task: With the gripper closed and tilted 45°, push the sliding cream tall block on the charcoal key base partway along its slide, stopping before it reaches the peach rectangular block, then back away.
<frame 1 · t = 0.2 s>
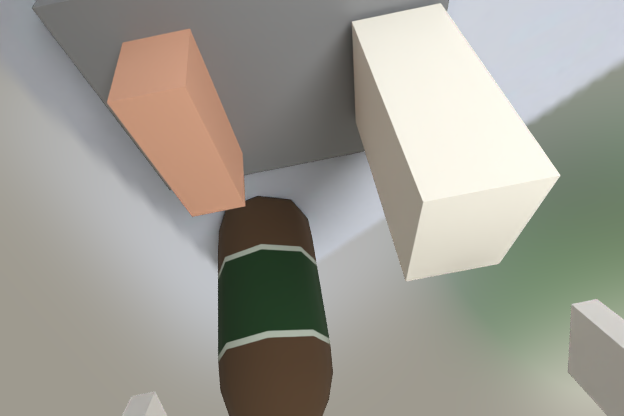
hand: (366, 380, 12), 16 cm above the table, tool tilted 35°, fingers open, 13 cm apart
beer bottle: (263, 218, 32), on the table
peach rectangular block: (193, 89, 20), resting on key base
key base: (274, 72, 20), on the table
cream tall block: (423, 139, 16), point 7 cm above the table, slide at 0.0 cm
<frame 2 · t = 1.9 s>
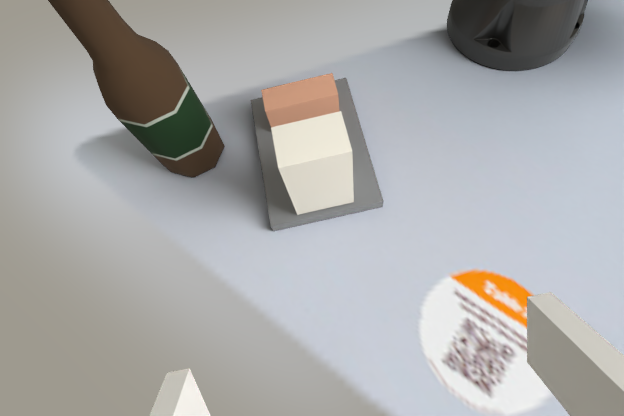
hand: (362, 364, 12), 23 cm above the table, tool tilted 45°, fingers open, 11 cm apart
beer bottle: (196, 152, 45), on the table
peach rectangular block: (305, 122, 45), resting on key base
key base: (312, 153, 43), on the table
cream tall block: (316, 168, 34), point 7 cm above the table, slide at 0.0 cm
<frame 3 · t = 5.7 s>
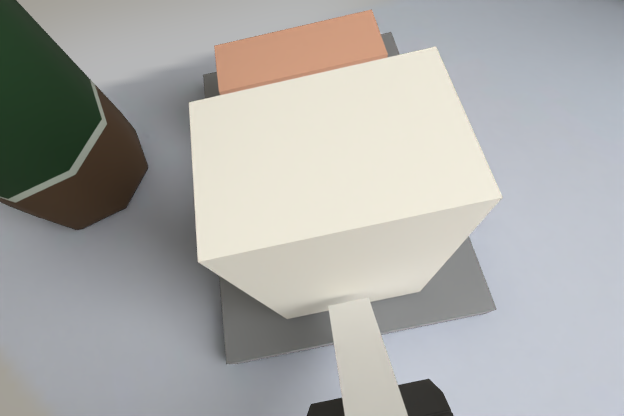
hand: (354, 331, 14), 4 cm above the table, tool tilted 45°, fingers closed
beer bottle: (94, 176, 23), on the table
peach rectangular block: (310, 119, 23), resting on key base
key base: (324, 183, 21), on the table
cream tall block: (338, 225, 12), point 7 cm above the table, slide at 0.8 cm, touching gripper
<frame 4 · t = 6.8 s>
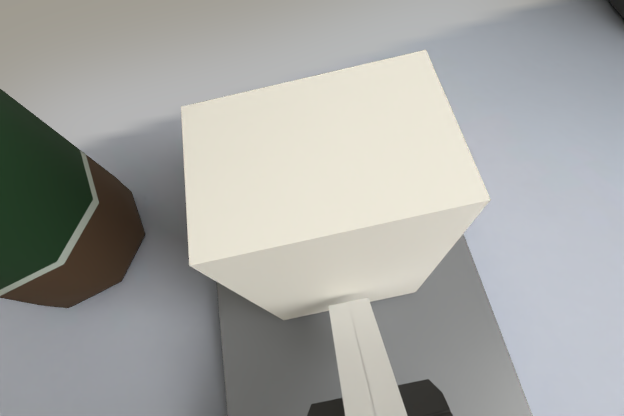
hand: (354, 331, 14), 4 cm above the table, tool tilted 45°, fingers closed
beer bottle: (87, 242, 21), on the table
key base: (337, 256, 19), on the table
cream tall block: (332, 226, 13), point 7 cm above the table, slide at 5.1 cm, touching gripper
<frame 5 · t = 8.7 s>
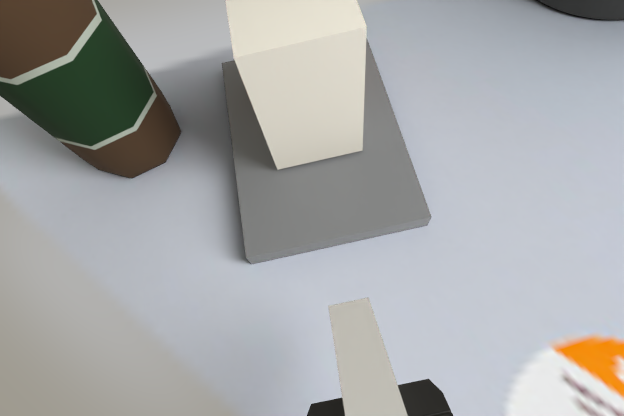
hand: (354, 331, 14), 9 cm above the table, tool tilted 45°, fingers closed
beer bottle: (139, 140, 30), on the table
key base: (314, 141, 28), on the table
cream tall block: (305, 87, 21), point 7 cm above the table, slide at 5.2 cm
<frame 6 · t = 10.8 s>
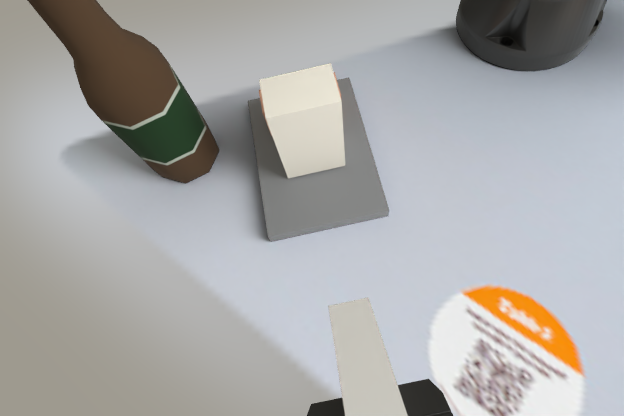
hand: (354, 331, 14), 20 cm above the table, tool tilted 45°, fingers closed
beer bottle: (189, 156, 42), on the table
key base: (313, 157, 40), on the table
cream tall block: (307, 127, 34), point 7 cm above the table, slide at 5.2 cm
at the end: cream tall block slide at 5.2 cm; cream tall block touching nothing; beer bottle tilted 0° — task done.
